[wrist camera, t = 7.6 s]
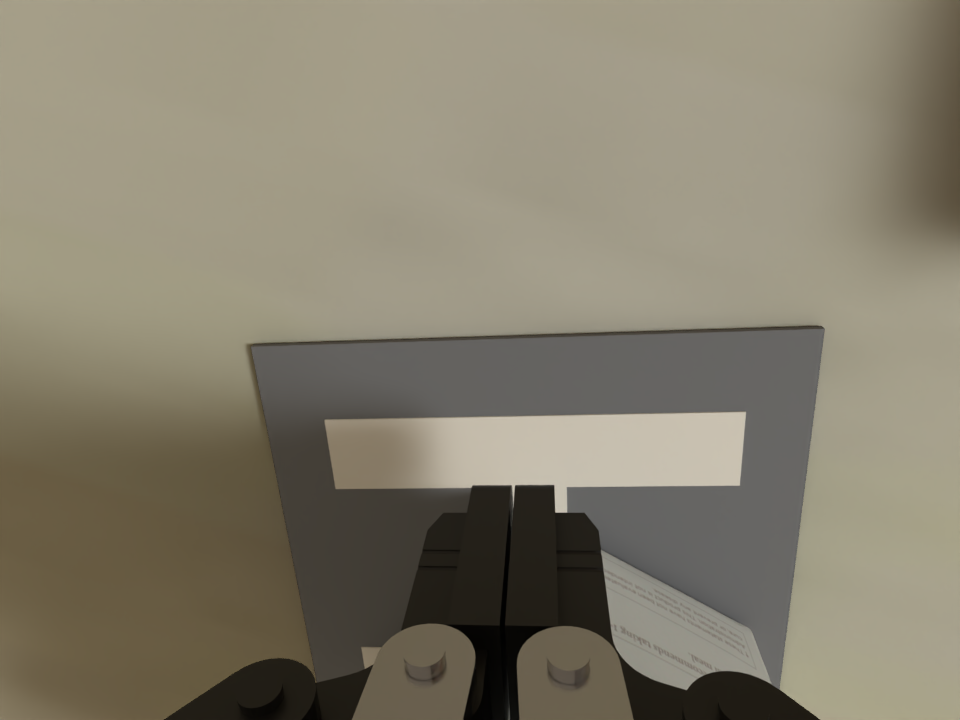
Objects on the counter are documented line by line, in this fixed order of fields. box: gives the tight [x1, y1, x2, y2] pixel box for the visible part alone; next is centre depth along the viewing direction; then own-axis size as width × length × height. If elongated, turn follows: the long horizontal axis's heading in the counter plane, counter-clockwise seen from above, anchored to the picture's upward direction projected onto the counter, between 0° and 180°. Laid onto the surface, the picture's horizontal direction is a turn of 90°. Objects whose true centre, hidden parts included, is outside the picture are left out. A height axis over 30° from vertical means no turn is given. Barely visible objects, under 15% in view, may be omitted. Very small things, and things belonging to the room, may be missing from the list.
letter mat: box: [251, 326, 825, 689], centre depth 16 cm, size 12×12×1 cm
